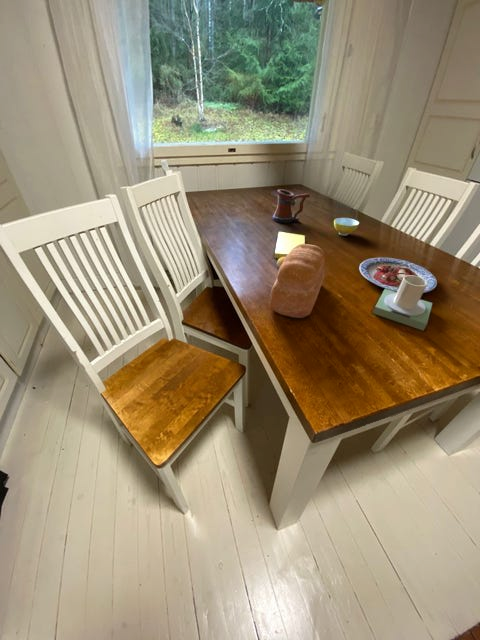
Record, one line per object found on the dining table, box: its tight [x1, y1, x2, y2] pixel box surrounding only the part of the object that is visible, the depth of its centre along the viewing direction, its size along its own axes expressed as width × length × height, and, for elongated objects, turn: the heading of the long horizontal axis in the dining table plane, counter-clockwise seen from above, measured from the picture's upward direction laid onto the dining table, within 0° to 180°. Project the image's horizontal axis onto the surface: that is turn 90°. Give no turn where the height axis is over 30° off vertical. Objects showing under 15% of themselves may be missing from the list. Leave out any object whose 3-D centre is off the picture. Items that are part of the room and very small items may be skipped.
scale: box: [372, 288, 433, 331], centre depth 84 cm, size 14×13×3 cm
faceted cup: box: [394, 275, 428, 309], centre depth 80 cm, size 6×6×8 cm
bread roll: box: [276, 257, 285, 269], centre depth 106 cm, size 8×9×4 cm
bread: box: [269, 243, 326, 319], centre depth 86 cm, size 14×26×15 cm, turn 156°
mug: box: [272, 188, 311, 224], centre depth 145 cm, size 18×12×15 cm, turn 76°
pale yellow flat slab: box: [274, 231, 306, 259], centre depth 121 cm, size 12×2×24 cm
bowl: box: [333, 217, 360, 237], centre depth 132 cm, size 11×12×6 cm
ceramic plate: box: [358, 257, 438, 294], centre depth 100 cm, size 26×26×3 cm
